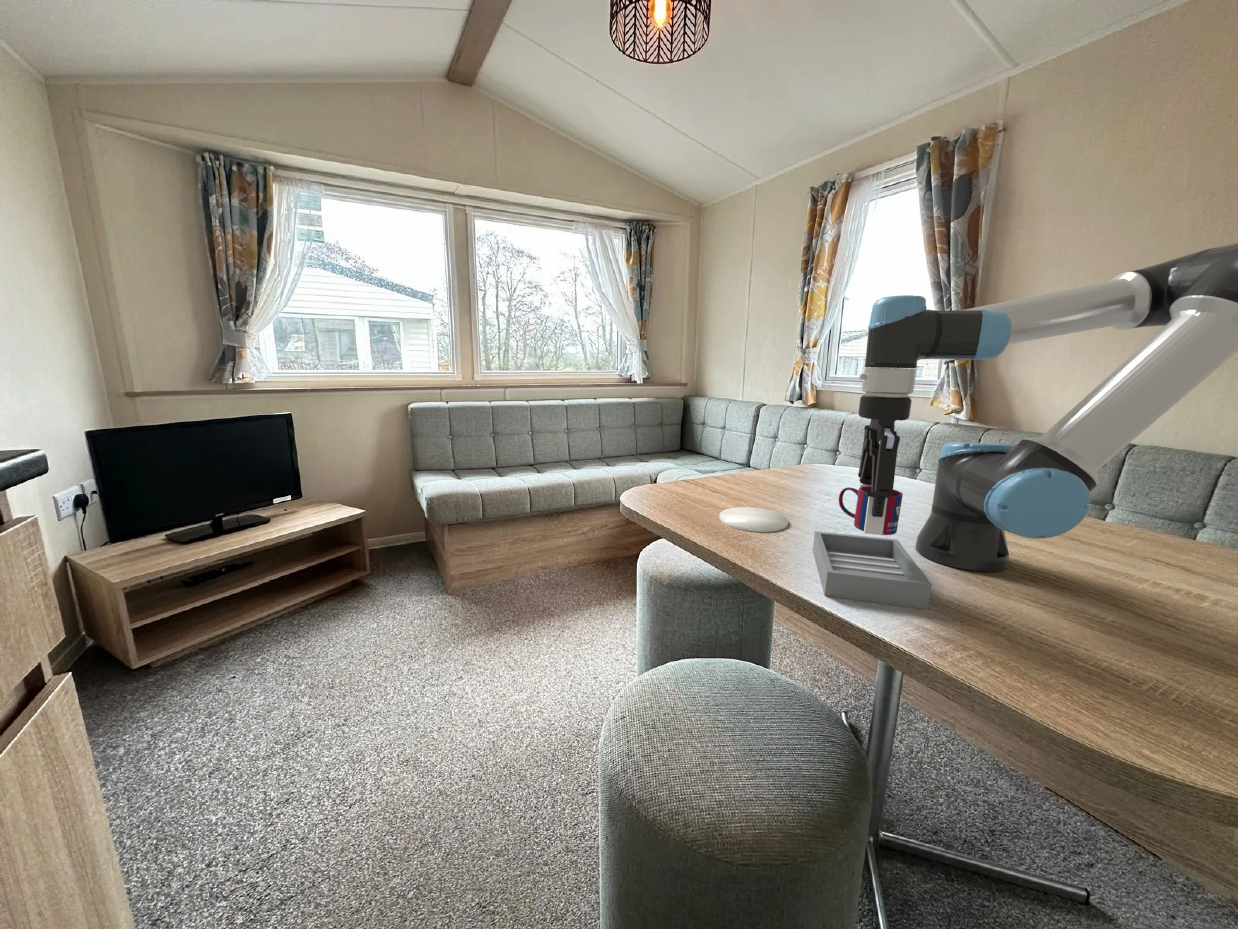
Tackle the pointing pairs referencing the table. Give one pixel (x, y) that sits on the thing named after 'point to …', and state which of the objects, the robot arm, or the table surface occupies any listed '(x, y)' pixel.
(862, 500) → the mug
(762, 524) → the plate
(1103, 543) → the table surface
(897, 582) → the rack
